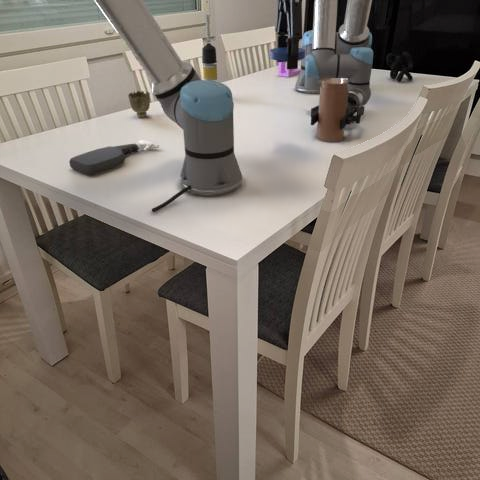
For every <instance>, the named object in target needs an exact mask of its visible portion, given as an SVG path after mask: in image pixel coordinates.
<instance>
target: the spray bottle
mask: <svg viewBox="0 0 480 480" xmlns="http://www.w3.org/2000/svg"><path fill="white" fill-rule="evenodd" d="M159 148H160V145H159V144H158V143H155V142H151V141H148V140H144V139H139V140H138V141H137V142H135V143H129V144H128V143H126V144H122V145H113V146H105V147H100V148H97V149H94V150H90V151H87V152H83V153H81V154H78V155H74V156H73V157H70V159H69V161H68V162H69V167H70V168H71V169H72V170H74V171H75V172H78V173H81V174H83V175H85V176H89V177H90V176H91V177H92V176H95V175H99V174H102V173H105V172H107V171H110V170H113V169H116V168H118V167H120V166H122V165H123V164H124V163H125V158H126V156H127V155H131V154H133V153H138V151H140V150H143V151H144V152H146V151H147V150H149V149H159Z"/></svg>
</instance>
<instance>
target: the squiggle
mask: <svg viewBox="0 0 480 480" xmlns="http://www.w3.org/2000/svg"><path fill="white" fill-rule="evenodd" d="M401 57H402V59H401ZM391 59H392V60H391ZM393 60H394V61H393ZM385 61H386V64H387V67H390V68H391V70H390V72H389V78H390V79H391V80H395V79H396V81H397V82H399V83H400V82H402V81H403V79H404V76H406V78H407V80H408V81H412V80H413V79H414V77H413V75H412V74H411V73H410V72H409V71H410V70H412V69H413V68H414V64H413V61H412V57H411V54H410V53H409V52H408V51H403V53H402V54H401V55H396V54H394V53H392V52H390V53H387V55H386V57H385ZM406 62H407V65H408V66H407V67H405V66H404V65H405V64H406ZM400 70H401V71H400Z"/></svg>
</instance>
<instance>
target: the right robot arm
mask: <svg viewBox="0 0 480 480" xmlns="http://www.w3.org/2000/svg"><path fill="white" fill-rule="evenodd" d="M372 2H373V0H347V3H346V9H345V14H344V21H343V24H341V25H340V26H339V29H338V32H337V19H338V3H339V0H314V3H313V21H312V29H311V30H308V31H305V32H304V33H303V34H302V39H301V48H302V49H305V58H304V59H302V60H300V73H299V74H298V77H297V80H296V82H295V87H294V88H295V91H296V92H298V93H301V94H308V95H320V86H321V85H322V80H323V79H327V78H341V79H347V80H348V82H349V83H348V86H349V91H348V100H347V110H346V115H345V116H344V117H343V118H342V119H341V120H340V129H343V128H344V127H345V128H346V127H347V126H348V125H351V124H353V123H354V122H355V124H360V123H361V119H362V117H363V116H364V115H365V109H366V107H365V105H366V104H367V103H368V102H369V101H370V98H371V96H372V90H371V88H370V87H371V86H370V85H371V76H372V69H373V64H374V63H373V62H374V61H373V60H374V51H373V49H372V43H373V35H372V33H371V32H370V29H369V27H368V22H369V18H370V17H369V16H370V12H371V7H372ZM318 111H319V104H318V105H316V106H314V107H311V108H310V126H314V125H315V124H318ZM345 128H344V129H345Z"/></svg>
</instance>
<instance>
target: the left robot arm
mask: <svg viewBox="0 0 480 480" xmlns="http://www.w3.org/2000/svg"><path fill="white" fill-rule="evenodd" d="M93 1H94V2H95V3H96V5H97V6H98V8H99V9H100V10H101V12H102V13H103V15H104V16H105V17H106V19H107V20H108V22H109V23H110V24H111V26H112V27H113V29H114V30H115V31H116V33H117V35H118V36H119V37H120V38H121V40H122V42H123V43H124V44H125V45H126V47H127V48H128V50H129V51H130V52H131V55H133V57H134V58H135V59H136V61H137V63H138V64H139V65H140V66H141V68H142V69H143V71H144V73H145V74H146V75H147V76H148V78H149V80H150V81H151V82H152V84H151V93H152V94H153V95H154V97H155V98H156V100H157V101H158V102H159V104H160V105H161V106H160V107H161V108H162V111H163V113H164V114H165V116H166V117H168V118H169V119H170V120H171V122H174V123H175V124H176V125H177V126H178V127H179V128H180V129H182V131H183V141H184V142H183V143H184V154H185V155H184V158H183V164H182V168H181V171H180V177H179V183H180V184H179V185H180V188H181V189H180V191H178V192H177V193H175V194H174V195H172V197H170V198H169V199H167V200H166V201H164V202H163V203H161V204H159V205H156V206H155V207H153V208H151V212H152V213H156V212H157V211H159V210H162V209H163V208H165V207H167V206H168V205H170V204H171V203H173V202H174V201H176V200H177V199H178V198H179V197H181V196H182V195H184V194H185V193H187V194H190V195H194V196H199V197H221V196H224V195H229V194H232V193H234V192H235V191H237V190H239V189H240V188H241V187H242V185H243V174H242V171H241V168H240V165H239V163H238V160H237V157H236V154H235V132H234V131H235V130H234V127H235V126H234V109H235V104H234V100H233V98H234V97H233V93H232V90H231V88H230V87H229V86H227V85H226V84H225V83H222V82H219V81H215V80H212V81H210V80H204V79H201V77H200V76H199V74H198V73H197V71H196V69H195V68H194V66H193V64H192V63H191V62H188V61H183V60H182V59H181V57H180V56H179V54H178V53H177V52H176V50H175V48H174V47H173V45H172V43H171V42H170V40H169V39H168V37H167V36H166V34H165V33H164V31H163V29H162V28H161V27H160V25H159V23H158V22H157V20H156V19H155V17H154V15H153V14H152V12H151V11H150V10H149V7H148V6H147V5H146V3H145V2H144V0H93ZM276 2H277V3H276V4H277V5H276V16H275V28H274V31H275V32H276V35H277V39H276V40H277V41H276V42H277V43H276V44H277V47H276V48H281V47H287V61H278V60H276V62H277V63H279V62H285V63H286V64H287V69H299V60H298V51H299V48H300V41H301V40H302V39H303V0H277V1H276ZM214 81H215V82H214Z"/></svg>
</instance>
